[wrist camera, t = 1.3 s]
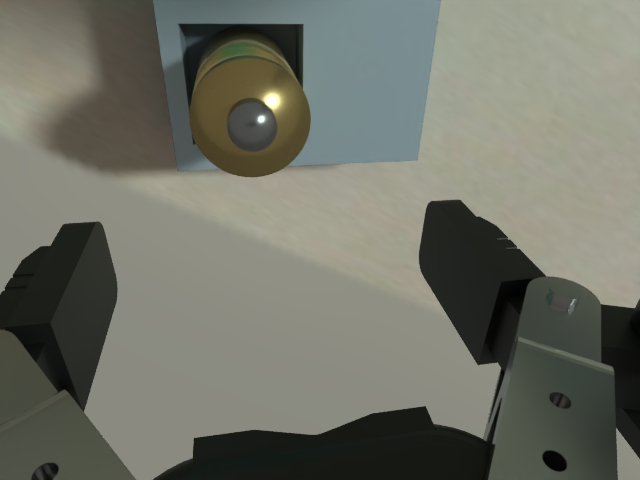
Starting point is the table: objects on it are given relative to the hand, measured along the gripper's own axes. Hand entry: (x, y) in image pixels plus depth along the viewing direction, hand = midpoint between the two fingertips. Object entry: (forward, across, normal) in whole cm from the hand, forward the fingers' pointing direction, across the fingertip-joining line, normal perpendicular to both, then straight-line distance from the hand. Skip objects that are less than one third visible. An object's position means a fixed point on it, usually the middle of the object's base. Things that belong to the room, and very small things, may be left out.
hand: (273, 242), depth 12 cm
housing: (+20, -3, -1) cm, 20 cm away
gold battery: (+18, 0, 0) cm, 18 cm away
